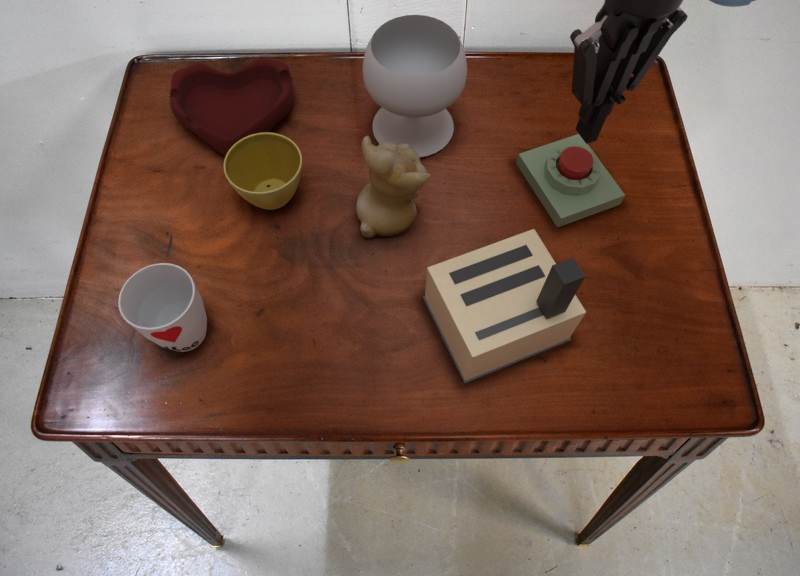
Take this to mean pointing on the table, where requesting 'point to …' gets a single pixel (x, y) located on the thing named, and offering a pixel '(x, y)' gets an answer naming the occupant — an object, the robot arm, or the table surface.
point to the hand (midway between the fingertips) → (585, 134)
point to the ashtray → (231, 100)
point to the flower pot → (264, 169)
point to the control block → (568, 183)
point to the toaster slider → (560, 288)
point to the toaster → (496, 306)
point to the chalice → (414, 81)
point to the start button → (575, 163)
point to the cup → (164, 307)
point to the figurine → (389, 188)
